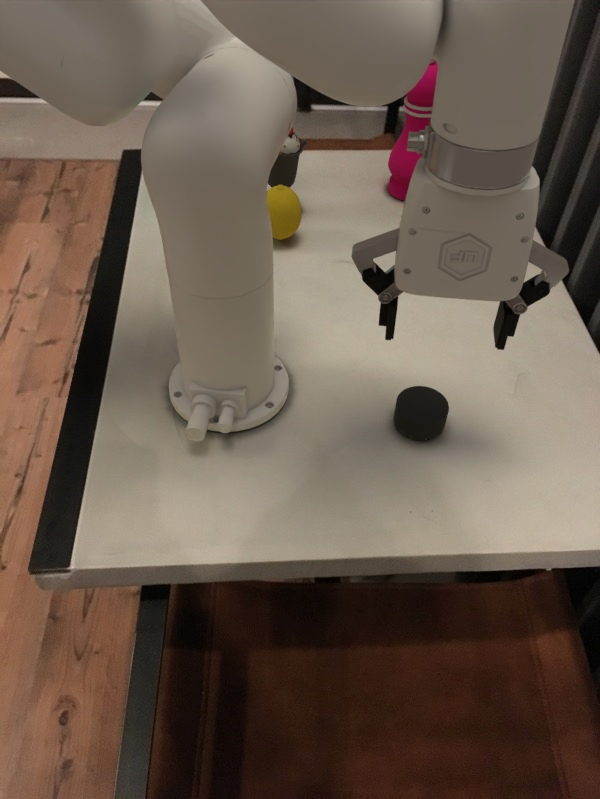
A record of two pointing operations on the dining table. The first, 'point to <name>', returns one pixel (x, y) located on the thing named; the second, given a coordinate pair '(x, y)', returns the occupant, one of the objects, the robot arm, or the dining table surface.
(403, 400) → the puck
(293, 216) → the lemon
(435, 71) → the pepper mill
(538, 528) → the dining table surface
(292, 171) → the sundae
